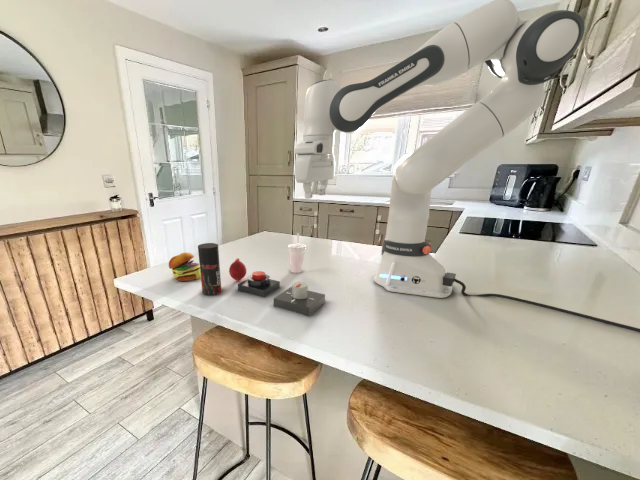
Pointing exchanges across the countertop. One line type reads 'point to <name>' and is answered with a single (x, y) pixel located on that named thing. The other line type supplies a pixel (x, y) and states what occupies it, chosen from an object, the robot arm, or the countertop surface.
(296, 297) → the hob knob
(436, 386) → the countertop surface
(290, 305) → the hob panel
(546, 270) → the countertop surface
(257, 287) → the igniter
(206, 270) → the deodorant
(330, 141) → the robot arm
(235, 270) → the onion
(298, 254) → the smoothie
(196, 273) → the cheeseburger
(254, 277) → the button
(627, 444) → the countertop surface
